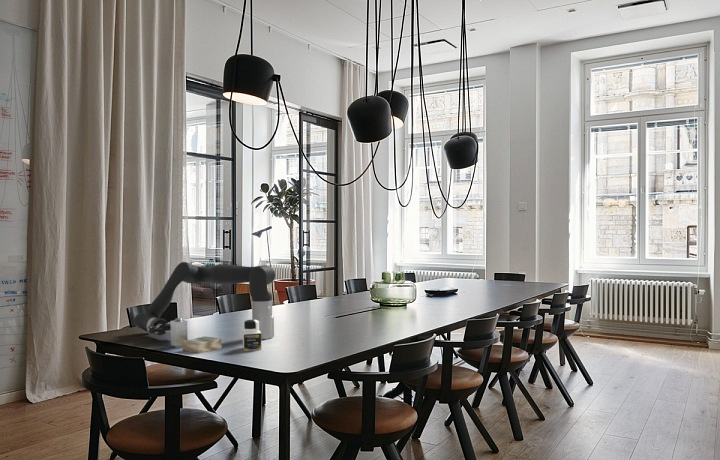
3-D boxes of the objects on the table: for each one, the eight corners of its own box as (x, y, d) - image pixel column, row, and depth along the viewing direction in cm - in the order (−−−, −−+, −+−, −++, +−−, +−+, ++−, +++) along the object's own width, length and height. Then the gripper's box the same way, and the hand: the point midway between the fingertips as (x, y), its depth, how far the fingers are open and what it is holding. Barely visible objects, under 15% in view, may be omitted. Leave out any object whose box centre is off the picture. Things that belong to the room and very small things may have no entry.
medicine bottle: (244, 351, 238) (243, 321, 238) (242, 347, 245) (242, 319, 245) (261, 349, 240) (261, 320, 240) (259, 346, 247) (259, 318, 247)
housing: (170, 346, 251) (170, 318, 251) (181, 344, 254) (181, 317, 254) (176, 348, 246) (176, 320, 246) (187, 346, 249) (187, 318, 249)
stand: (205, 345, 251) (205, 335, 251) (221, 348, 245) (221, 338, 245) (182, 350, 241) (182, 340, 241) (198, 353, 235) (198, 342, 235)
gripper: (141, 319, 266) (154, 323, 253) (172, 316, 275) (186, 319, 262) (142, 336, 265) (155, 340, 253) (172, 332, 275) (186, 336, 262)
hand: (170, 330), depth 258 cm, fingers open, 8 cm apart
